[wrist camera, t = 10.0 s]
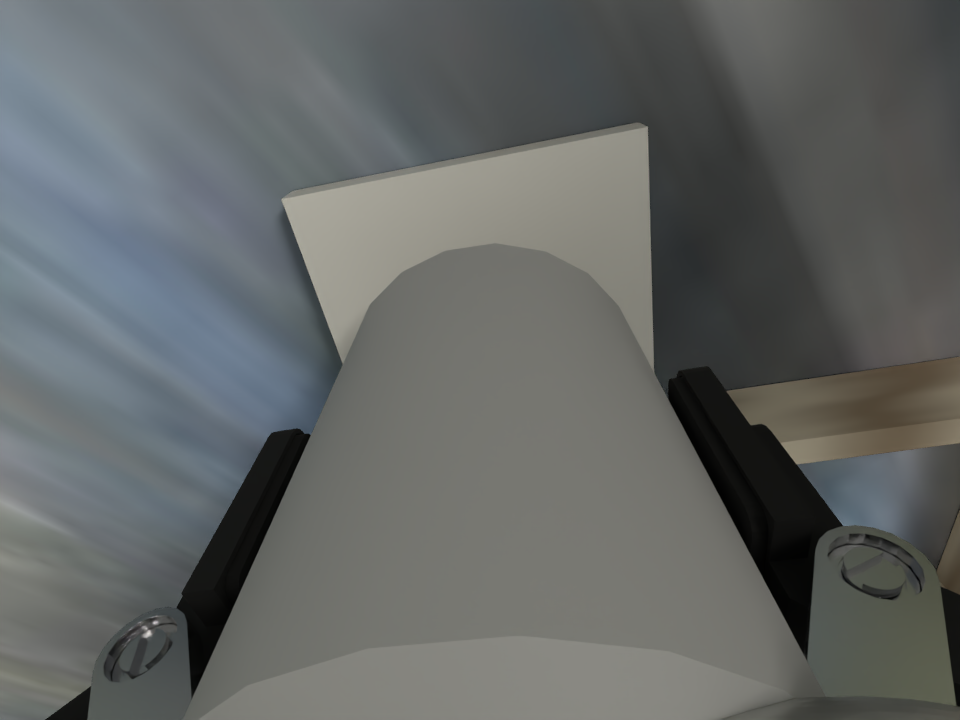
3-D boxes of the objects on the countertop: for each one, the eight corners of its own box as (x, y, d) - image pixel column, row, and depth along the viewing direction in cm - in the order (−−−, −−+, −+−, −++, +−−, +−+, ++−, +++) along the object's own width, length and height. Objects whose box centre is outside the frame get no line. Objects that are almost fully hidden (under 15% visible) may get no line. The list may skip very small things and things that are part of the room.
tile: (637, 122, 14) (647, 126, 14) (647, 413, 19) (655, 430, 19) (292, 190, 15) (281, 199, 15) (386, 451, 20) (381, 468, 20)
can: (300, 336, 14) (-179, 1079, 4) (532, 168, 12) (821, 865, 2) (464, 500, 17) (436, 1161, 7) (674, 389, 15) (1086, 1124, 5)
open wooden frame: (1052, 343, 18) (1149, 393, 15) (952, 587, 24) (1008, 651, 22) (661, 400, 19) (689, 455, 17) (665, 617, 26) (685, 681, 23)
